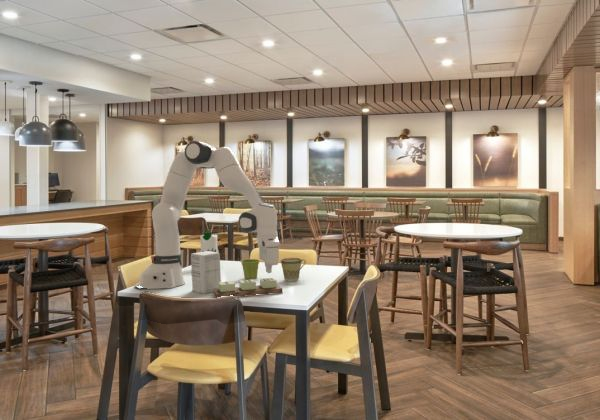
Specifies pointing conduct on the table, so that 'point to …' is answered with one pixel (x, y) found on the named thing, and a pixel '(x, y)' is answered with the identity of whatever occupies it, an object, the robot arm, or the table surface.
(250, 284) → the tile two
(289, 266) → the ceramic cup
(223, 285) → the tile one
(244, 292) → the frame
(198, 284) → the supplement box
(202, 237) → the milk carton
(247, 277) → the plant pot
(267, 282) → the tile three
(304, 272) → the table surface
